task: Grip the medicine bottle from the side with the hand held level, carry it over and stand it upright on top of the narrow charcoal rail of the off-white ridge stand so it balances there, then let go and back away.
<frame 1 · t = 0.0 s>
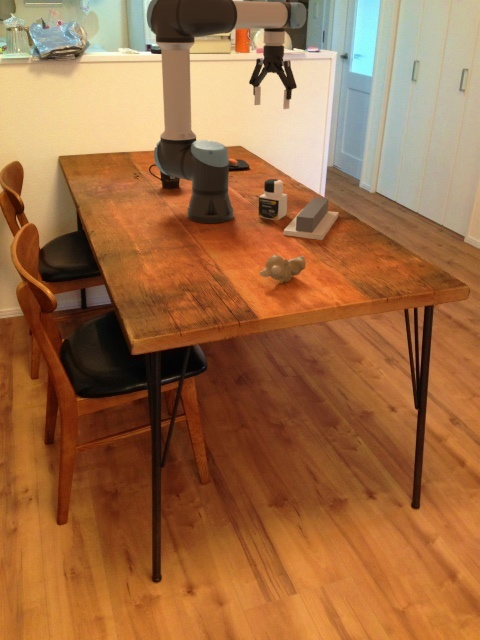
hand: (271, 106, 223), 28 cm above the table, tool pointing down, fingers open, 13 cm apart
ridge stand: (312, 225, 189), on the table
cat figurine: (281, 281, 151), on the table
sushi plate: (210, 165, 261), on the table
coffee mug: (166, 186, 227), on the table
medicine bottle: (272, 216, 197), on the table
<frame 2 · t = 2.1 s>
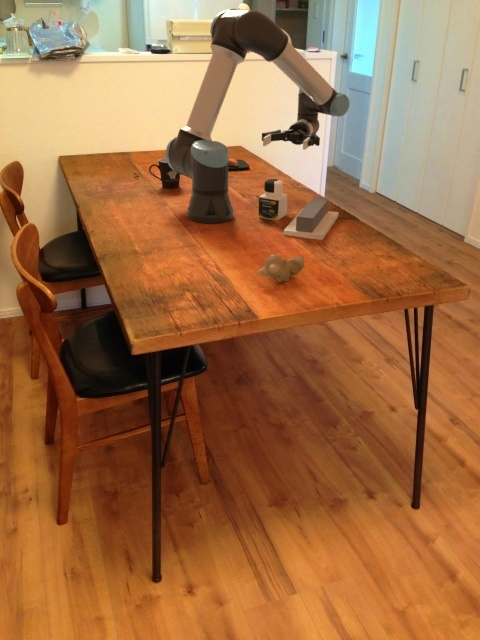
hand: (283, 143, 195), 22 cm above the table, tool horizontal, fingers open, 13 cm apart
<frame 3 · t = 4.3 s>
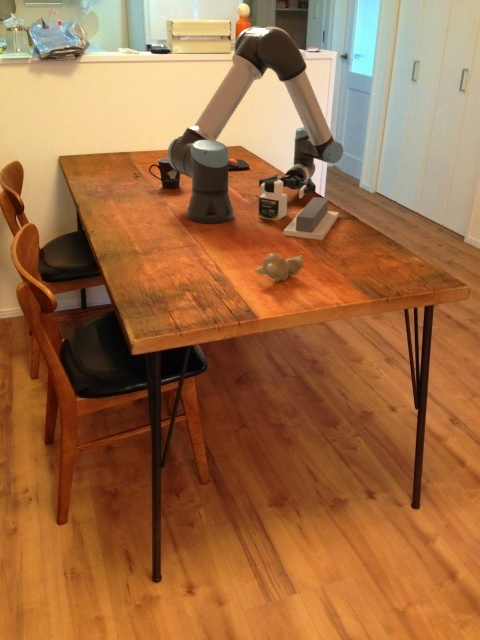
hand: (280, 191, 199), 6 cm above the table, tool horizontal, fingers open, 13 cm apart
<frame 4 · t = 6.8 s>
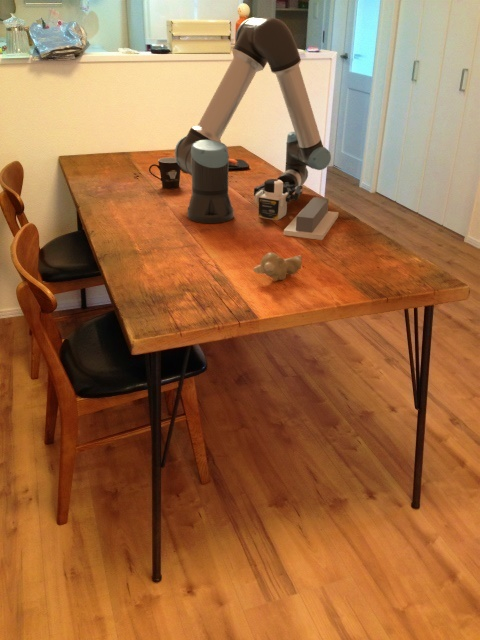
hand: (268, 200, 190), 7 cm above the table, tool horizontal, fingers closed on medicine bottle, 8 cm apart
medicine bottle: (272, 216, 197), on the table, touching gripper
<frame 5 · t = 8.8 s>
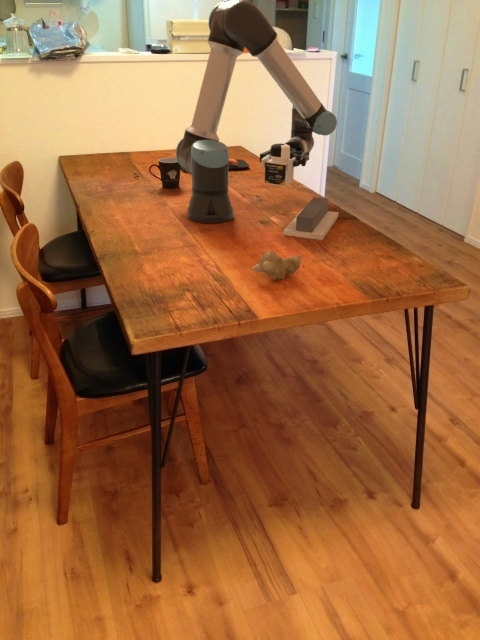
hand: (275, 165, 184), 18 cm above the table, tool horizontal, fingers closed on medicine bottle, 8 cm apart
medicine bottle: (278, 183, 191), point 11 cm above the table, touching gripper
when the fingers open (14 cm above the table, at t = 11.1 s): medicine bottle drops 1 cm, resting on ridge stand.
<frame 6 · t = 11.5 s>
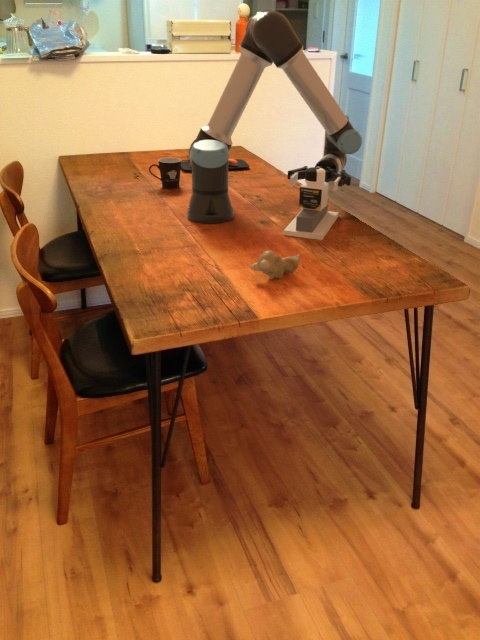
hand: (312, 184, 180), 14 cm above the table, tool horizontal, fingers open, 13 cm apart
medicine bottle: (313, 207, 186), point 6 cm above the table, touching ridge stand
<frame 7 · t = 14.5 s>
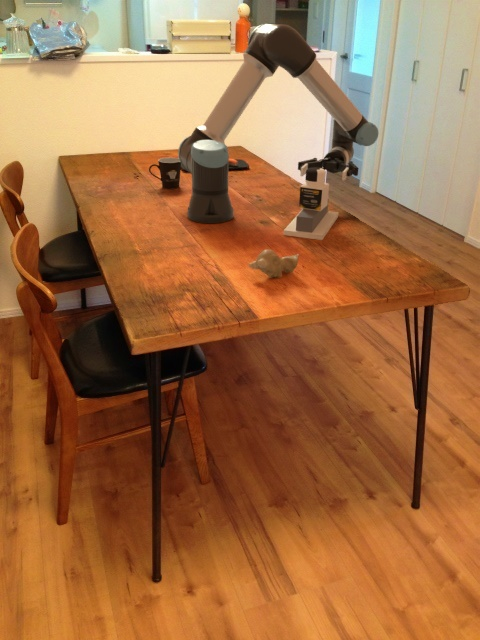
hand: (322, 174, 190), 14 cm above the table, tool horizontal, fingers open, 13 cm apart
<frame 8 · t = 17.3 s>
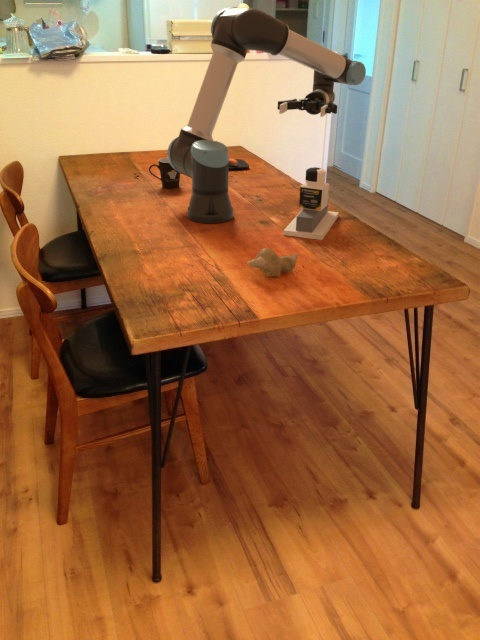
hand: (301, 110, 190), 32 cm above the table, tool horizontal, fingers open, 13 cm apart
at the end: medicine bottle inside the target area on the ridge stand (0.1 cm from its centre), point 5.8 cm above the ridge stand's base; medicine bottle tilted 0°; the gripper is holding nothing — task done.
